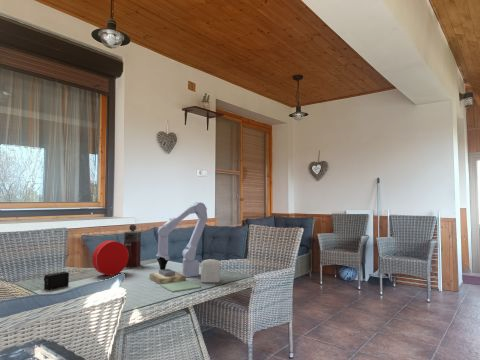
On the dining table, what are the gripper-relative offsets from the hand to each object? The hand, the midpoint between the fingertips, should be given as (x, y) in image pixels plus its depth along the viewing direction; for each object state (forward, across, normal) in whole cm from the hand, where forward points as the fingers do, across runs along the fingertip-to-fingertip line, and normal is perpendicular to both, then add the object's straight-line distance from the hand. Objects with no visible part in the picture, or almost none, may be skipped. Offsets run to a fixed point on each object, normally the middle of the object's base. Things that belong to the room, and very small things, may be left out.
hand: (162, 270), depth 199 cm
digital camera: (+4, -9, -54) cm, 55 cm away
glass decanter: (+4, -43, -5) cm, 44 cm away
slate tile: (+1, +6, 0) cm, 6 cm away
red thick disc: (+4, -25, -23) cm, 34 cm away
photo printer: (+4, +24, +18) cm, 31 cm away
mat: (+4, +24, 0) cm, 25 cm away
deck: (+4, +7, 0) cm, 8 cm away
